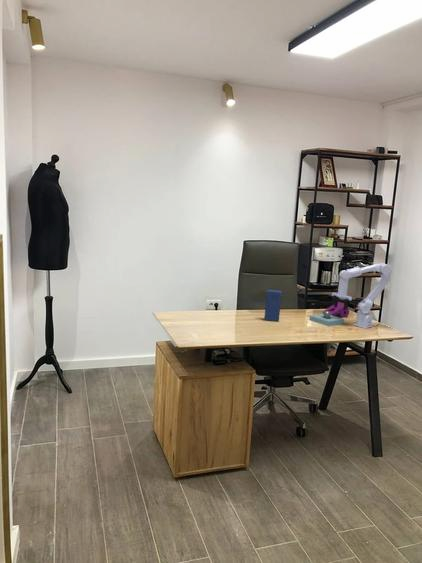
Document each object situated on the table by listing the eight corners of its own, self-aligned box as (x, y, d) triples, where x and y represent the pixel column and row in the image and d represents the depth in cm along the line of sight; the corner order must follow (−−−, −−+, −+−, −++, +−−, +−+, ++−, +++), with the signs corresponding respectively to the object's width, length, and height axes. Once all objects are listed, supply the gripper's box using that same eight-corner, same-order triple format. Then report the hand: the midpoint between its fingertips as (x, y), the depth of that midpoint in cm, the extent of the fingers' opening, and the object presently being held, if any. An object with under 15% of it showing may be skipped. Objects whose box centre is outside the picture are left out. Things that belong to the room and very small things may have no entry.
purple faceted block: (331, 326, 323) (350, 314, 329) (328, 316, 320) (347, 304, 326) (322, 323, 331) (340, 311, 337) (319, 313, 328) (338, 301, 334)
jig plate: (343, 323, 310) (344, 319, 309) (328, 326, 300) (328, 321, 300) (324, 317, 322) (325, 313, 322) (309, 320, 313) (310, 315, 312)
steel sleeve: (330, 322, 311) (332, 312, 310) (326, 323, 308) (328, 312, 307) (325, 320, 314) (326, 310, 313) (321, 321, 311) (322, 311, 310)
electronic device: (278, 320, 307) (281, 290, 304) (278, 321, 302) (281, 291, 299) (264, 318, 308) (266, 289, 304) (264, 320, 303) (267, 290, 299)
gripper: (330, 286, 307) (327, 306, 310) (348, 291, 296) (345, 311, 298) (336, 286, 312) (334, 305, 314) (355, 290, 300) (352, 310, 303)
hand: (340, 308), depth 306 cm, fingers open, 7 cm apart
